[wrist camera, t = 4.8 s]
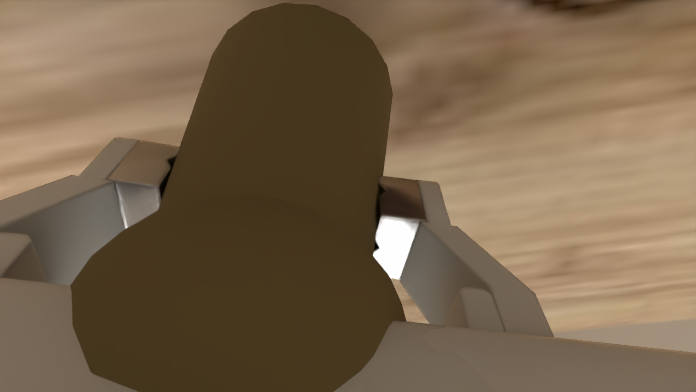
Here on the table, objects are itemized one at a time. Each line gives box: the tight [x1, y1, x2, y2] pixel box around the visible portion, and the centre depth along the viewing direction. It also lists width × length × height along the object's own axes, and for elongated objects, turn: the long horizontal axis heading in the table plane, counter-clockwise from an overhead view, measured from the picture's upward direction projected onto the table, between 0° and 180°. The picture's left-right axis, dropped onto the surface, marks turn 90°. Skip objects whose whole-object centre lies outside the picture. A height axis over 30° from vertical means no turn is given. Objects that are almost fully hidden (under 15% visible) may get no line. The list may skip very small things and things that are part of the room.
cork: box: [70, 3, 406, 392], centre depth 9 cm, size 6×6×11 cm
